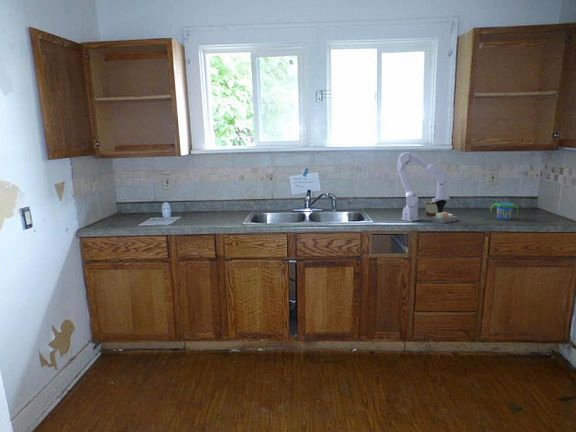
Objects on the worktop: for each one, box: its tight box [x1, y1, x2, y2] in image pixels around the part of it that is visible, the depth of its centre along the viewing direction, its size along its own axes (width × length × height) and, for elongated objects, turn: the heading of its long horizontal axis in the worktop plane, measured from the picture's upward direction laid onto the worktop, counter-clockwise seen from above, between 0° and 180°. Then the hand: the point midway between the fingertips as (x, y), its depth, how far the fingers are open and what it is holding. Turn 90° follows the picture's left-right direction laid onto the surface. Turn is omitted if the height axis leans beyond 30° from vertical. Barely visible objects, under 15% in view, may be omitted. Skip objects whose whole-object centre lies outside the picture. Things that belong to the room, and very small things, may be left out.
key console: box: [430, 215, 459, 224], centre depth 247 cm, size 15×9×2 cm, turn 123°
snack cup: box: [490, 202, 519, 221], centre depth 249 cm, size 16×10×10 cm
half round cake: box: [424, 200, 441, 218], centre depth 263 cm, size 12×6×10 cm, turn 84°
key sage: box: [436, 213, 444, 219], centre depth 244 cm, size 3×3×4 cm
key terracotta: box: [441, 211, 450, 218], centre depth 247 cm, size 3×3×4 cm
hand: (440, 212), depth 244 cm, fingers closed
